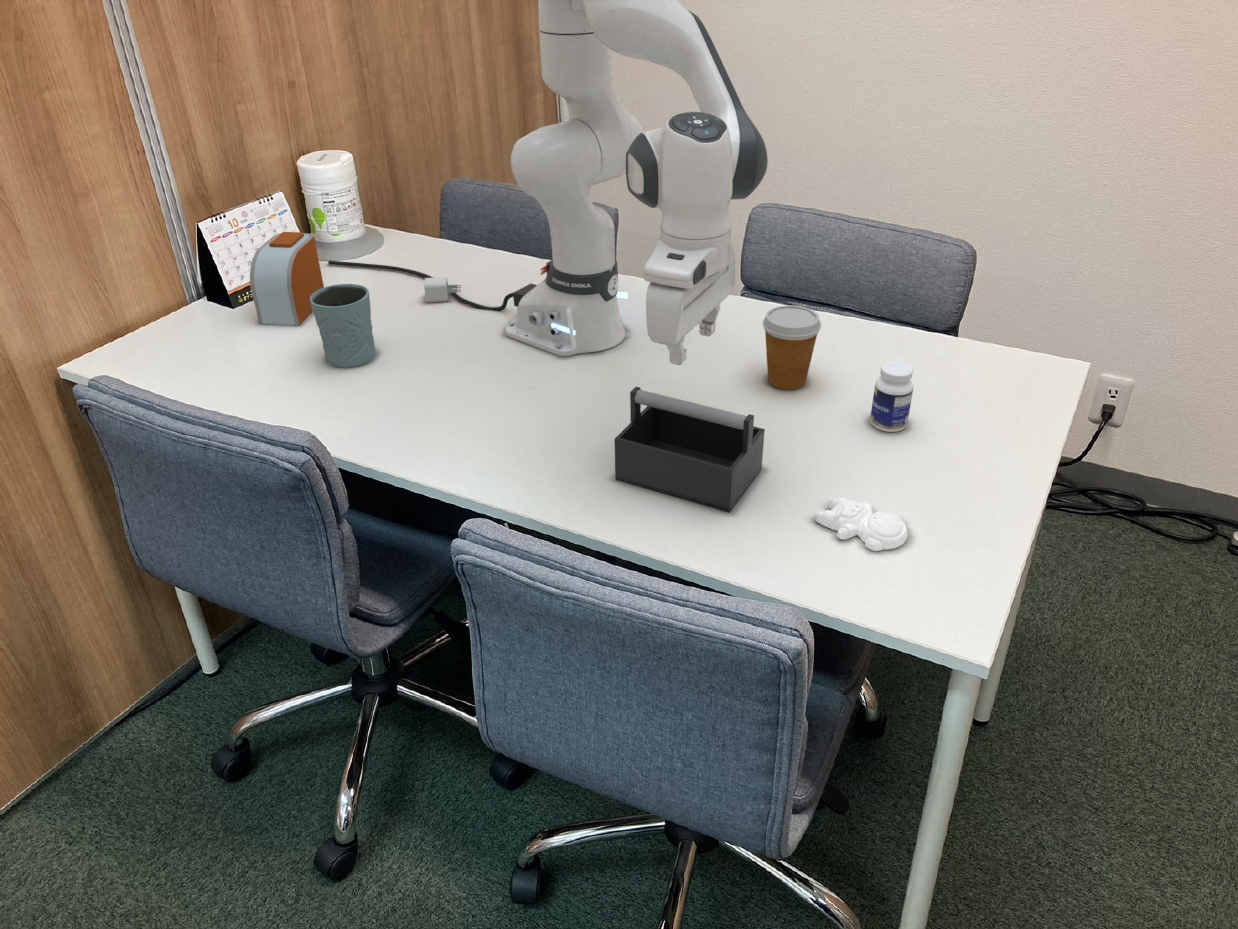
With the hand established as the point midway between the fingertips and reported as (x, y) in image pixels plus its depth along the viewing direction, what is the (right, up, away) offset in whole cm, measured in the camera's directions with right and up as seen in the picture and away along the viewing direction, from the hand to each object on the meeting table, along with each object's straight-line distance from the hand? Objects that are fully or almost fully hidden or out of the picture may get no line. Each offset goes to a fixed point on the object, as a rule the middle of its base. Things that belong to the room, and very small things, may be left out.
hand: (692, 347), depth 133 cm
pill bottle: (+32, -9, +23) cm, 41 cm away
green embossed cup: (-58, +4, +45) cm, 73 cm away
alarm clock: (-74, +15, +62) cm, 98 cm away
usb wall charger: (-45, +17, +65) cm, 81 cm away
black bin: (0, -17, +12) cm, 21 cm away
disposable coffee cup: (+18, -2, +35) cm, 39 cm away
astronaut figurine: (+23, -24, 0) cm, 33 cm away
